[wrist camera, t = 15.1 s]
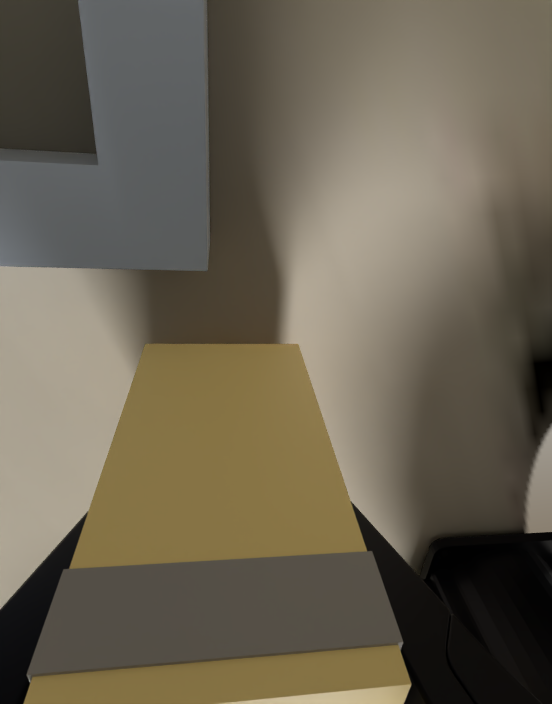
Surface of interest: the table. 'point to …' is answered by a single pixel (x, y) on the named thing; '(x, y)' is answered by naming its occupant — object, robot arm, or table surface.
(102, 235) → the socket
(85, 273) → the table surface
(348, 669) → the plug
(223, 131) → the table surface
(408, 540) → the table surface
